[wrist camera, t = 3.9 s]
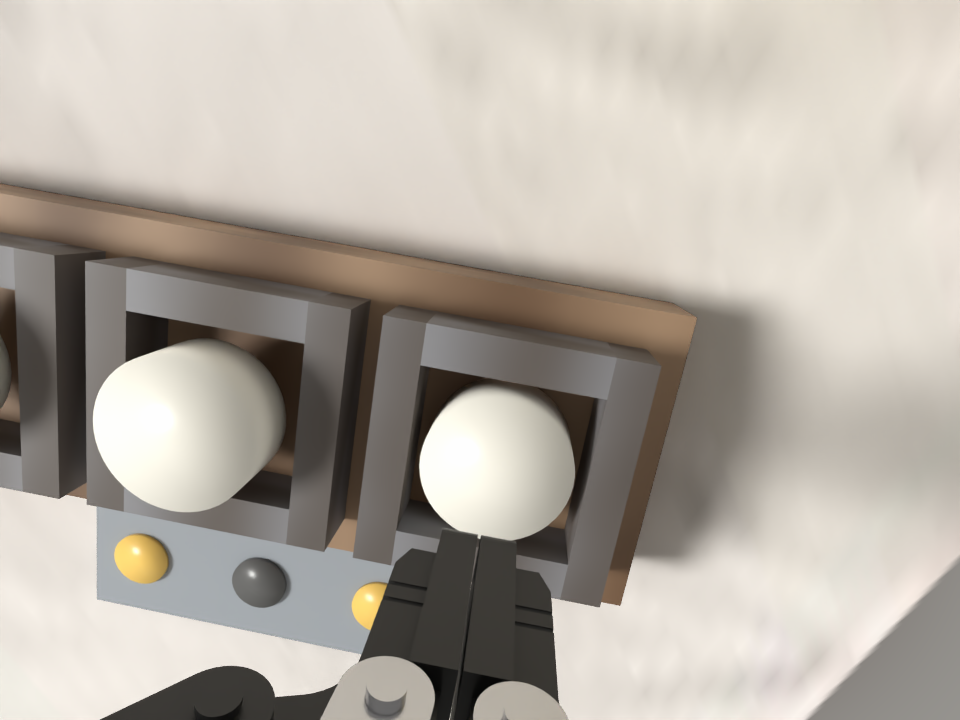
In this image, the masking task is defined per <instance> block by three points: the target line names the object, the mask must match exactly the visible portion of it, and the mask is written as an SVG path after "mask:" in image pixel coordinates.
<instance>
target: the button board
mask: <svg viewBox="0 0 960 720" xmlns="http://www.w3.org/2000/svg"><path fill="white" fill-rule="evenodd" d="M696 321H697V317H695V316H694V315H692V314H690V313H689V312H687V311H685V310H684V309H682V308H680V307H679V306H677V305H675V304H674V303H670V302H664V301H658V300H653V299H647V298H641V297H636V296H630V295H625V294H619V293H613V292H608V291H602V290H596V289H591V288H585V287H580V286H574V285H568V284H563V283H557V282H551V281H546V280H540V279H535V278H529V277H523V276H518V275H512V274H506V273H501V272H495V271H490V270H484V269H478V268H473V267H467V266H461V265H456V264H450V263H445V262H439V261H433V260H428V259H422V258H416V257H411V256H405V255H400V254H394V253H388V252H383V251H377V250H371V249H366V248H360V247H355V246H349V245H343V244H338V243H332V242H326V241H321V240H315V239H310V238H304V237H298V236H293V235H287V234H281V233H276V232H270V231H265V230H259V229H253V228H248V227H242V226H236V225H231V224H225V223H220V222H214V221H208V220H203V219H197V218H191V217H186V216H180V215H175V214H169V213H163V212H158V211H152V210H146V209H141V208H135V207H130V206H124V205H118V204H113V203H107V202H101V201H96V200H90V199H84V198H79V197H73V196H68V195H62V194H56V193H51V192H45V191H39V190H34V189H28V188H23V187H17V186H11V185H6V184H0V335H1V337H2V339H3V341H4V343H5V346H6V349H7V351H8V354H9V359H10V363H11V386H10V391H9V394H8V397H7V399H6V401H5V403H4V405H3V406H2V408H1V409H0V487H3V488H8V489H13V490H18V491H23V492H28V493H33V494H38V495H43V496H48V497H52V498H57V499H60V498H62V497H63V496H65V495H71V496H76V497H80V498H85V499H87V505H92V506H97V507H102V508H107V509H112V510H117V511H122V512H127V513H132V514H137V515H142V516H147V517H152V518H157V519H162V520H167V521H172V522H177V523H182V524H187V525H192V526H197V527H202V528H207V529H212V530H217V531H222V532H227V533H232V534H237V535H242V536H247V537H252V538H257V539H262V540H267V541H271V542H276V543H281V544H286V545H291V546H296V547H301V548H306V549H311V550H316V551H321V552H324V551H325V550H326V548H327V547H330V548H335V549H340V550H345V551H350V552H353V558H356V559H361V560H366V561H371V562H376V563H381V564H386V565H391V566H394V565H395V562H396V561H397V560H398V559H399V558H401V557H402V556H403V555H404V554H405V553H407V552H408V551H409V550H410V549H411V548H414V549H419V550H424V551H429V552H434V553H437V549H438V545H439V541H440V537H441V533H442V529H443V528H447V529H452V530H457V529H455V528H454V527H452V526H451V525H449V524H448V523H447V522H446V521H445V520H443V519H442V518H441V517H440V516H439V515H438V513H437V512H436V511H435V510H434V509H433V507H432V506H431V504H430V503H429V501H428V499H427V497H426V495H425V493H424V490H423V487H422V484H421V479H420V469H419V464H420V455H421V451H422V447H423V444H424V442H425V439H426V437H427V435H428V433H429V430H430V428H431V426H432V424H433V422H434V420H435V418H436V416H437V414H438V412H439V410H440V408H441V407H442V406H443V404H444V403H445V402H446V400H447V399H448V398H449V397H450V396H451V395H452V394H454V393H455V392H456V391H458V390H459V389H460V388H462V387H464V386H466V385H467V384H470V383H472V382H475V381H478V380H482V379H486V378H491V379H497V380H502V381H507V382H513V383H518V384H524V385H529V386H534V387H536V388H538V389H540V390H541V391H542V392H544V393H545V394H546V395H547V396H548V397H549V398H551V399H552V400H553V402H554V403H555V404H556V405H557V406H558V408H559V409H560V411H561V413H562V414H563V416H564V418H565V421H566V423H567V426H568V430H569V435H570V440H571V446H572V451H573V457H574V464H575V479H574V486H573V489H572V493H571V496H570V498H569V500H568V502H567V504H566V506H565V507H564V509H563V510H562V512H561V513H560V514H559V515H558V516H557V518H556V519H555V520H553V521H552V522H551V523H550V524H549V525H548V526H546V527H545V528H543V529H542V530H540V531H538V532H536V533H534V534H532V535H530V536H527V537H524V538H521V539H516V540H510V541H515V542H516V543H517V552H516V568H518V569H523V570H528V571H533V572H538V573H540V575H541V577H542V578H543V580H544V582H545V583H546V585H547V586H548V588H549V590H550V591H551V598H555V599H560V600H565V601H570V602H575V603H580V604H585V605H590V606H595V607H600V604H601V602H604V603H609V604H614V605H619V606H620V605H621V601H622V597H623V593H624V590H625V586H626V582H627V579H628V575H629V571H630V567H631V564H632V560H633V556H634V552H635V549H636V545H637V541H638V537H639V534H640V530H641V526H642V522H643V519H644V515H645V511H646V507H647V504H648V500H649V496H650V493H651V489H652V485H653V481H654V478H655V474H656V470H657V466H658V463H659V459H660V455H661V451H662V448H663V444H664V440H665V436H666V433H667V429H668V425H669V422H670V418H671V414H672V410H673V407H674V403H675V399H676V395H677V392H678V388H679V384H680V380H681V377H682V373H683V369H684V365H685V362H686V358H687V354H688V351H689V347H690V343H691V339H692V336H693V332H694V328H695V324H696ZM197 338H210V339H218V340H222V341H226V342H229V343H232V344H234V345H237V346H239V347H240V348H242V349H244V350H246V351H247V352H249V353H250V354H252V355H253V356H255V357H256V358H257V359H258V360H259V361H260V362H261V363H262V364H263V365H264V366H265V367H266V368H267V369H268V370H269V372H270V373H271V375H272V376H273V378H274V379H275V381H276V383H277V385H278V386H279V389H280V391H281V394H282V396H283V400H284V404H285V409H286V429H285V434H284V438H283V441H282V443H281V446H280V448H279V450H278V451H277V453H276V454H275V456H274V457H273V458H272V459H271V461H270V462H269V463H268V464H267V465H266V466H265V467H264V468H262V469H261V470H260V471H259V472H258V473H257V474H256V475H255V476H254V477H253V478H252V479H251V480H250V481H249V482H247V483H246V484H245V485H244V486H243V487H242V488H241V489H240V490H239V491H238V492H237V493H236V494H235V495H233V496H232V497H231V498H230V499H228V500H227V501H225V502H224V503H222V504H220V505H218V506H216V507H213V508H211V509H208V510H204V511H198V512H176V511H170V510H166V509H162V508H159V507H156V506H154V505H151V504H149V503H147V502H145V501H143V500H141V499H140V498H138V497H137V496H135V495H134V494H132V493H131V492H130V491H129V490H127V489H126V488H125V487H124V486H123V485H122V484H121V483H120V482H119V481H118V480H117V479H116V478H115V477H114V475H113V474H112V473H111V472H110V470H109V469H108V467H107V465H106V464H105V462H104V461H103V458H102V456H101V454H100V452H99V450H98V447H97V444H96V440H95V435H94V430H93V410H94V405H95V401H96V398H97V395H98V393H99V390H100V389H101V387H102V385H103V383H104V382H105V381H106V379H107V378H108V377H109V375H110V374H112V373H113V372H114V371H115V370H116V369H117V368H118V367H120V366H121V365H123V364H124V363H126V362H128V361H130V360H133V359H135V358H138V357H141V356H143V355H146V354H149V353H152V352H155V351H158V350H160V349H163V348H166V347H169V346H172V345H174V344H177V343H180V342H183V341H187V340H191V339H197ZM458 531H459V530H458ZM479 542H480V539H479V538H478V539H477V546H476V553H475V560H474V567H473V573H474V568H475V563H476V557H477V552H478V547H479ZM472 578H473V574H472ZM471 582H472V581H471Z"/></svg>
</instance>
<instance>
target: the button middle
mask: <svg viewBox="0 0 960 720" xmlns="http://www.w3.org/2000/svg"><path fill="white" fill-rule="evenodd" d="M285 429H286V409H285V404H284V400H283V396H282V394H281V391H280V389H279V386H278V385H277V383H276V381H275V379H274V378H273V376H272V375H271V373H270V372H269V370H268V369H267V368H266V367H265V366H264V365H263V364H262V363H261V362H260V361H259V360H258V359H257V358H256V357H255V356H253V355H252V354H250V353H249V352H247V351H246V350H244V349H242V348H240V347H239V346H237V345H234V344H232V343H229V342H226V341H222V340H218V339H210V338H197V339H191V340H187V341H183V342H180V343H177V344H174V345H172V346H169V347H166V348H163V349H160V350H158V351H155V352H152V353H149V354H146V355H143V356H141V357H138V358H135V359H133V360H130V361H128V362H126V363H124V364H123V365H121V366H120V367H118V368H117V369H116V370H115V371H114V372H113V373H112V374H110V375H109V377H108V378H107V379H106V381H105V382H104V383H103V385H102V387H101V389H100V390H99V393H98V395H97V398H96V401H95V405H94V410H93V430H94V435H95V440H96V444H97V447H98V450H99V452H100V454H101V456H102V458H103V461H104V462H105V464H106V465H107V467H108V469H109V470H110V472H111V473H112V474H113V475H114V477H115V478H116V479H117V480H118V481H119V482H120V483H121V484H122V485H123V486H124V487H125V488H126V489H127V490H129V491H130V492H131V493H132V494H134V495H135V496H137V497H138V498H140V499H141V500H143V501H145V502H147V503H149V504H151V505H154V506H156V507H159V508H162V509H166V510H170V511H176V512H198V511H204V510H208V509H211V508H213V507H216V506H218V505H220V504H222V503H224V502H225V501H227V500H228V499H230V498H231V497H232V496H233V495H235V494H236V493H237V492H238V491H239V490H240V489H241V488H242V487H243V486H244V485H245V484H246V483H247V482H249V481H250V480H251V479H252V478H253V477H254V476H255V475H256V474H257V473H258V472H259V471H260V470H261V469H262V468H264V467H265V466H266V465H267V464H268V463H269V462H270V461H271V459H272V458H273V457H274V456H275V454H276V453H277V451H278V450H279V448H280V446H281V443H282V441H283V438H284V434H285Z"/></svg>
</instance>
